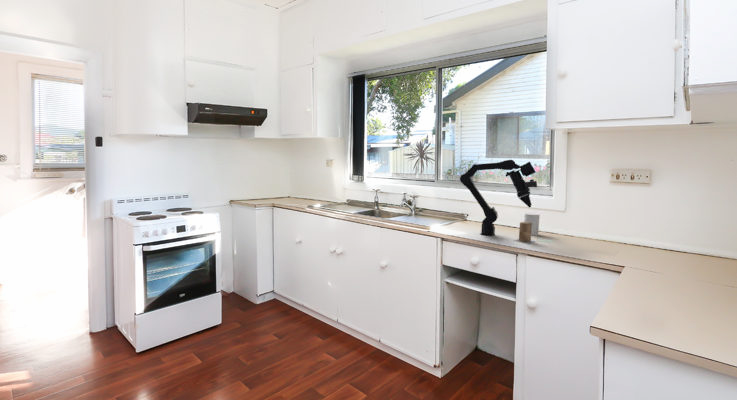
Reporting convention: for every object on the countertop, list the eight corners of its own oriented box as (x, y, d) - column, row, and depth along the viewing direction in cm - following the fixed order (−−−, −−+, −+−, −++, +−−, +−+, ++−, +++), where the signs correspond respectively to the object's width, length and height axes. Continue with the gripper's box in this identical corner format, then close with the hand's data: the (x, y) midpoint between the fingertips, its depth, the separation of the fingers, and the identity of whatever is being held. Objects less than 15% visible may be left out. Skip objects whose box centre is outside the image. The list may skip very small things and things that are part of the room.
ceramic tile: (536, 241, 217) (536, 241, 217) (538, 238, 224) (538, 238, 224) (552, 243, 214) (552, 243, 214) (553, 240, 221) (553, 240, 221)
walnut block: (518, 241, 217) (519, 222, 216) (522, 239, 220) (523, 221, 219) (526, 242, 214) (528, 223, 213) (530, 241, 217) (532, 222, 216)
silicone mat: (512, 240, 217) (512, 240, 217) (520, 238, 223) (520, 238, 223) (529, 243, 211) (529, 243, 211) (536, 241, 217) (536, 241, 217)
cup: (535, 233, 241) (537, 213, 240) (540, 235, 233) (541, 215, 232) (521, 232, 242) (522, 212, 240) (525, 235, 234) (526, 214, 232)
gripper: (531, 174, 212) (545, 201, 211) (532, 173, 229) (544, 198, 228) (511, 183, 217) (524, 210, 215) (513, 182, 234) (525, 206, 232)
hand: (530, 206), depth 223 cm, fingers open, 9 cm apart
